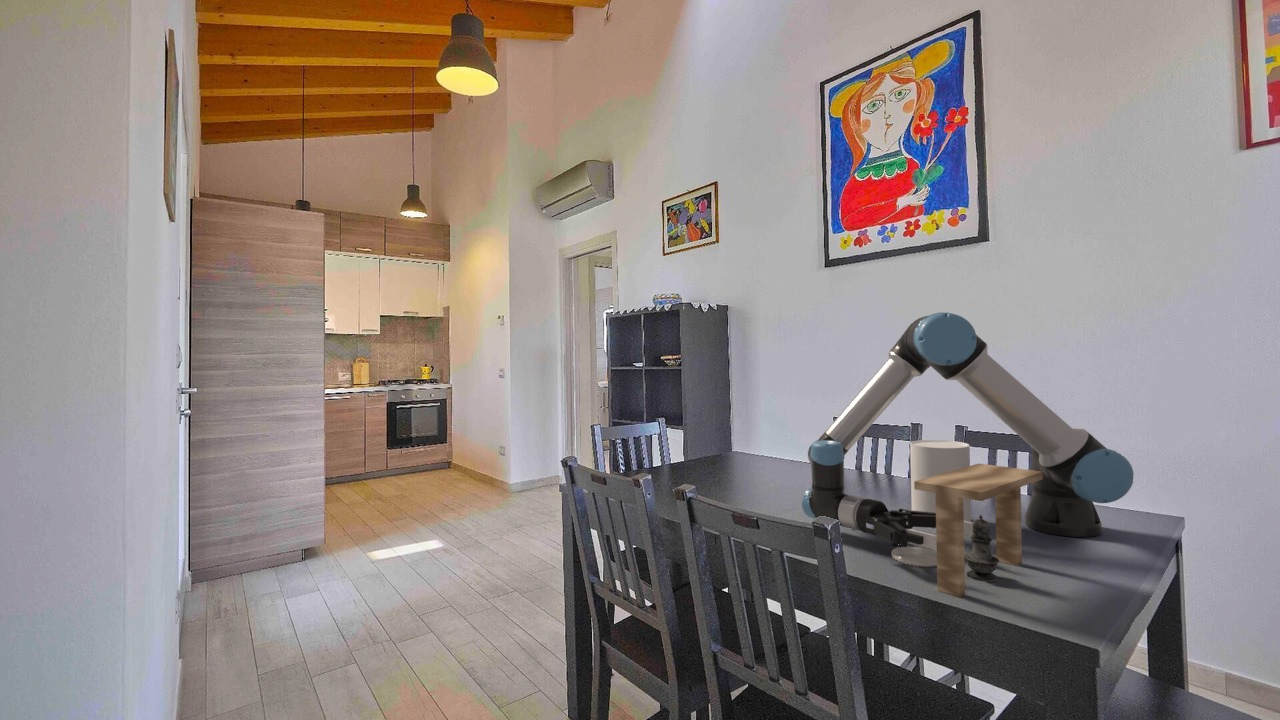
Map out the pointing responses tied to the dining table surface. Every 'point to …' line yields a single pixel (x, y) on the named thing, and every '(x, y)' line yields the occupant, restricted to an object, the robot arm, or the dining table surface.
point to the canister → (936, 469)
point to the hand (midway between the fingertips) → (959, 536)
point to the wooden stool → (950, 515)
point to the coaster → (915, 556)
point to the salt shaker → (981, 553)
